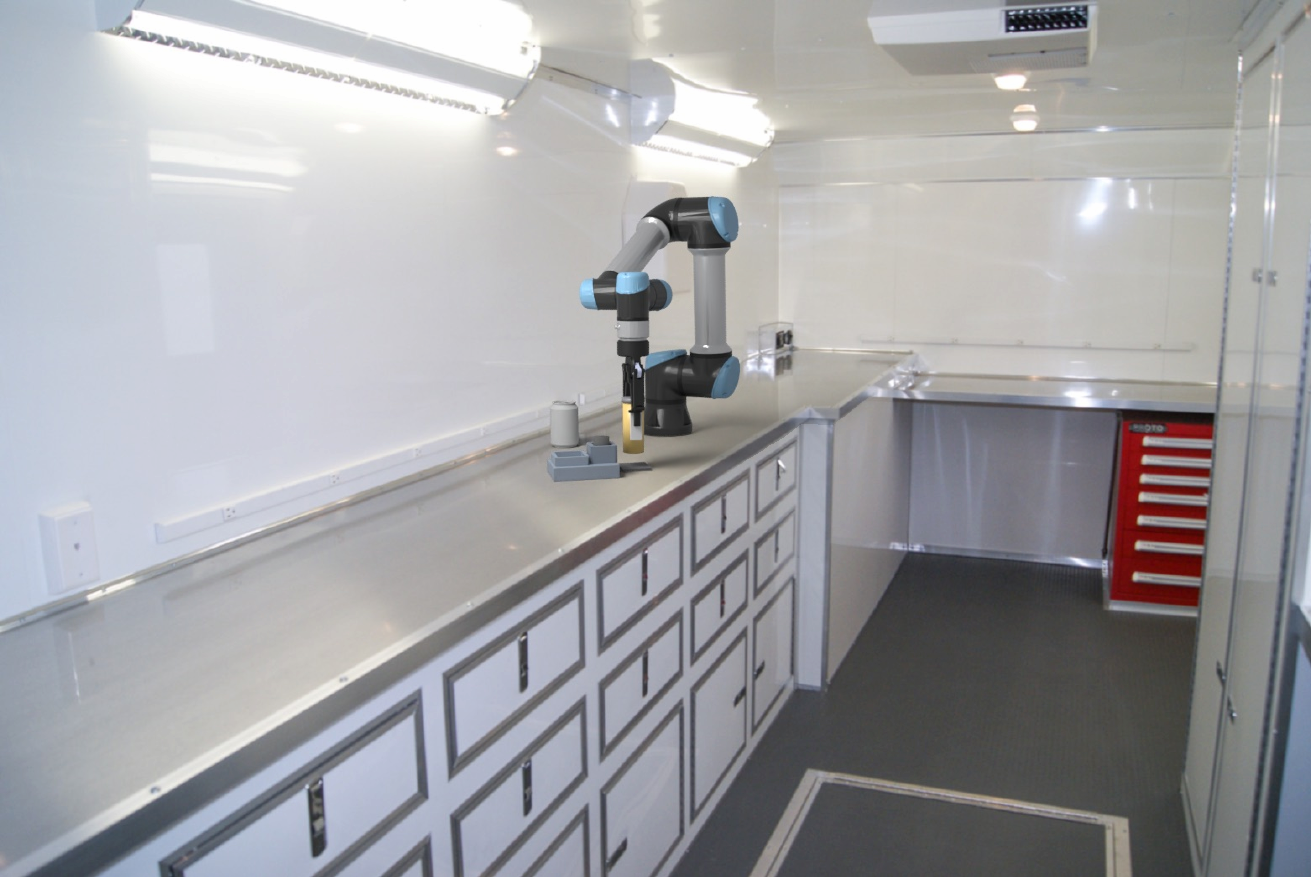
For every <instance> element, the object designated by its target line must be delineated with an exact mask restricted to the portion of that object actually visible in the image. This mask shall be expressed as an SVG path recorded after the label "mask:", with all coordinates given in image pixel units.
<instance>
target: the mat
mask: <svg viewBox="0 0 1311 877" xmlns="http://www.w3.org/2000/svg"><path fill="white" fill-rule="evenodd" d="M617 463H618V462H617ZM618 464H619V467H620V471H621V473H623V472H624V473H625V472H626V473H628V472H630V473H631V472H643V471H652V470H653V467H651V465H649V464H648V463H647V462H645V461H640V462H639V461H637V462H622V463H621V462H619V463H618Z"/></svg>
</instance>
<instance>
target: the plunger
mask: <svg viewBox="0 0 1311 877" xmlns="http://www.w3.org/2000/svg"><path fill="white" fill-rule="evenodd" d="M609 441H610V436H609V435H595V436H593V442H594V446H605V445H609Z"/></svg>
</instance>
